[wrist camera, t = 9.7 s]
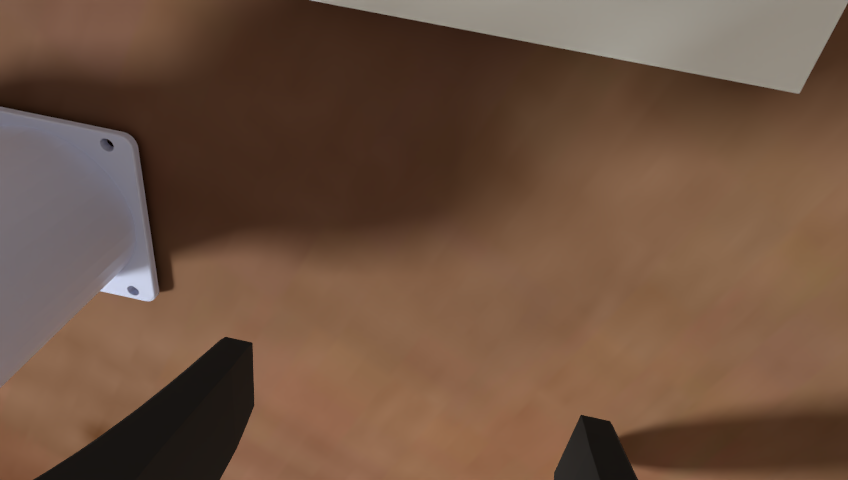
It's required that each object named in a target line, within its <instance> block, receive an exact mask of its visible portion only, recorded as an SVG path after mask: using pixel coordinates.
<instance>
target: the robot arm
mask: <svg viewBox="0 0 848 480" xmlns="http://www.w3.org/2000/svg"><path fill="white" fill-rule="evenodd" d="M107 139H108V140H110V141H111V142H112V144H113V146H114V147H112V146H111V145H110V144H109V143H108V142H107ZM135 287H136V288H137V289H136V288H135ZM99 291H102V292H107V293H111V294H116V295H120V296H125V297H130V298H134V299H139V300H143V301H152V300H154V299H155V298H156V297H157V295H158V294H159V286H158V279H157V272H156V266H155V259H154V252H153V245H152V238H151V231H150V225H149V218H148V211H147V204H146V197H145V191H144V184H143V177H142V170H141V163H140V157H139V150H138V145H137V142H136V141H135V139H134V138H133V137H132V136H131V135H129V134H128V133H125V132H122V131H117V130H112V129H107V128H102V127H98V126H93V125H88V124H83V123H78V122H73V121H68V120H63V119H59V118H54V117H49V116H44V115H39V114H34V113H29V112H24V111H19V110H15V109H10V108H5V107H0V388H1V387H2V386H3V385H4V384H5V383H6V382H7V381H8V380H9V379H10V378H11V377H12V376H13V375H14V374H15V373H16V372H17V371H18V370H19V369H20V368H21V367H22V366H23V365H24V364H25V363H26V362H27V361H28V360H29V359H31V358H32V357H33V356H34V355H35V354H36V353H37V352H38V351H39V350H40V349H41V348H42V347H43V346H44V345H45V344H46V343H47V342H48V341H49V340H50V339H51V338H52V337H53V336H54V335H55V334H56V333H57V332H58V331H59V330H60V329H61V328H62V327H63V326H64V325H65V324H67V323H68V322H69V321H70V320H71V319H72V318H73V317H74V316H75V315H76V314H77V313H78V312H79V311H80V310H81V309H82V308H83V307H84V306H85V305H86V304H87V303H88V302H89V301H90V300H91V299H92V298H93V297H94V296H95V295H96V294H97V293H98V292H99ZM253 407H254V382H253V349H252V343H251V342H246V341H242V340H237V339H232V338H228V337H224V338H223V339H221V340H220V341H219V342H217V343H216V344H215V345H214V346H213V347H212V348H211V349H209V350H208V351H207V352H206V353H205V354H204V355H203V356H201V357H200V358H199V359H198V360H197V361H196V362H194V363H193V364H192V365H191V366H190V367H189V368H187V369H186V370H185V371H184V372H183V373H181V374H180V375H179V376H178V377H177V378H175V379H174V380H173V381H172V382H171V383H169V384H168V385H167V386H166V387H164V388H163V389H162V390H161V391H159V392H158V393H157V394H156V395H154V396H153V397H152V398H151V399H149V400H148V401H147V402H146V403H144V404H143V405H142V406H141V407H139V408H138V409H137V410H135V411H134V412H133V413H131V414H130V415H129V416H127V417H126V418H125V419H123V420H122V421H120V422H119V423H118V424H116V425H115V426H114V427H112V428H111V429H109V430H108V431H107V432H105V433H104V434H103V435H101V436H100V437H98V438H97V439H96V440H94V441H93V442H91V443H90V444H88V445H87V446H85V447H84V448H82V449H81V450H80V451H78V452H77V453H75V454H73V455H72V456H70V457H69V458H67V459H66V460H64V461H63V462H61V463H60V464H58V465H56V466H55V467H53V468H52V469H50V470H49V471H47V472H45V473H44V474H42V475H40V476H39V477H37V478H35V479H34V480H220V478H221V476H222V474H223V473H224V471H225V469H226V467H227V465H228V463H229V462H230V460H231V458H232V456H233V454H234V452H235V450H236V448H237V446H238V444H239V441H240V439H241V437H242V434H243V432H244V430H245V427H246V425H247V422H248V420H249V417H250V415H251V412H252V410H253ZM554 480H638V479H637V477H636V475H635V473H634V470H633V468H632V466H631V464H630V462H629V460H628V458H627V456H626V454H625V451H624V449H623V447H622V445H621V443H620V441H619V438H618V436H617V434H616V432H615V430H614V427H613V425H612V424H611V422H610V421H606V420H602V419H597V418H593V417H588V416H584V415H581V416H580V418H579V420H578V423H577V425H576V427H575V429H574V431H573V433H572V436H571V438H570V440H569V442H568V444H567V446H566V449H565V451H564V453H563V455H562V457H561V459H560V461H559V464H558V466H557V468H556V470H555V472H554Z"/></svg>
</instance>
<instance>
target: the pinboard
mask: <svg viewBox="0 0 848 480" xmlns="http://www.w3.org/2000/svg"><path fill="white" fill-rule="evenodd" d="M311 1H316V2H322V3H327V4H332V5H337V6H343V7H348V8H353V9H358V10H363V11H369V12H374V13H379V14H384V15H390V16H395V17H400V18H405V19H410V20H416V21H421V22H426V23H431V24H437V25H442V26H447V27H452V28H458V29H463V30H468V31H473V32H478V33H484V34H489V35H494V36H499V37H505V38H510V39H515V40H520V41H525V42H531V43H536V44H541V45H546V46H552V47H557V48H562V49H567V50H573V51H578V52H583V53H588V54H593V55H599V56H604V57H609V58H614V59H620V60H625V61H630V62H635V63H640V64H646V65H651V66H656V67H661V68H667V69H672V70H677V71H682V72H688V73H693V74H698V75H703V76H708V77H714V78H719V79H724V80H729V81H735V82H740V83H745V84H750V85H756V86H761V87H766V88H771V89H776V90H782V91H787V92H792V93H797V94H799V93H800V92H801V90H802V88H803V86H804V84H805V82H806V80H807V78H808V77H809V75H810V73H811V71H812V69H813V67H814V65H815V63H816V62H817V60H818V58H819V56H820V54H821V52H822V50H823V48H824V47H825V45H826V43H827V41H828V39H829V37H830V35H831V33H832V32H833V30H834V28H835V26H836V24H837V22H838V20H839V18H840V17H841V15H842V13H843V11H844V9H845V7H846V5H847V4H848V0H311Z"/></svg>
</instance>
